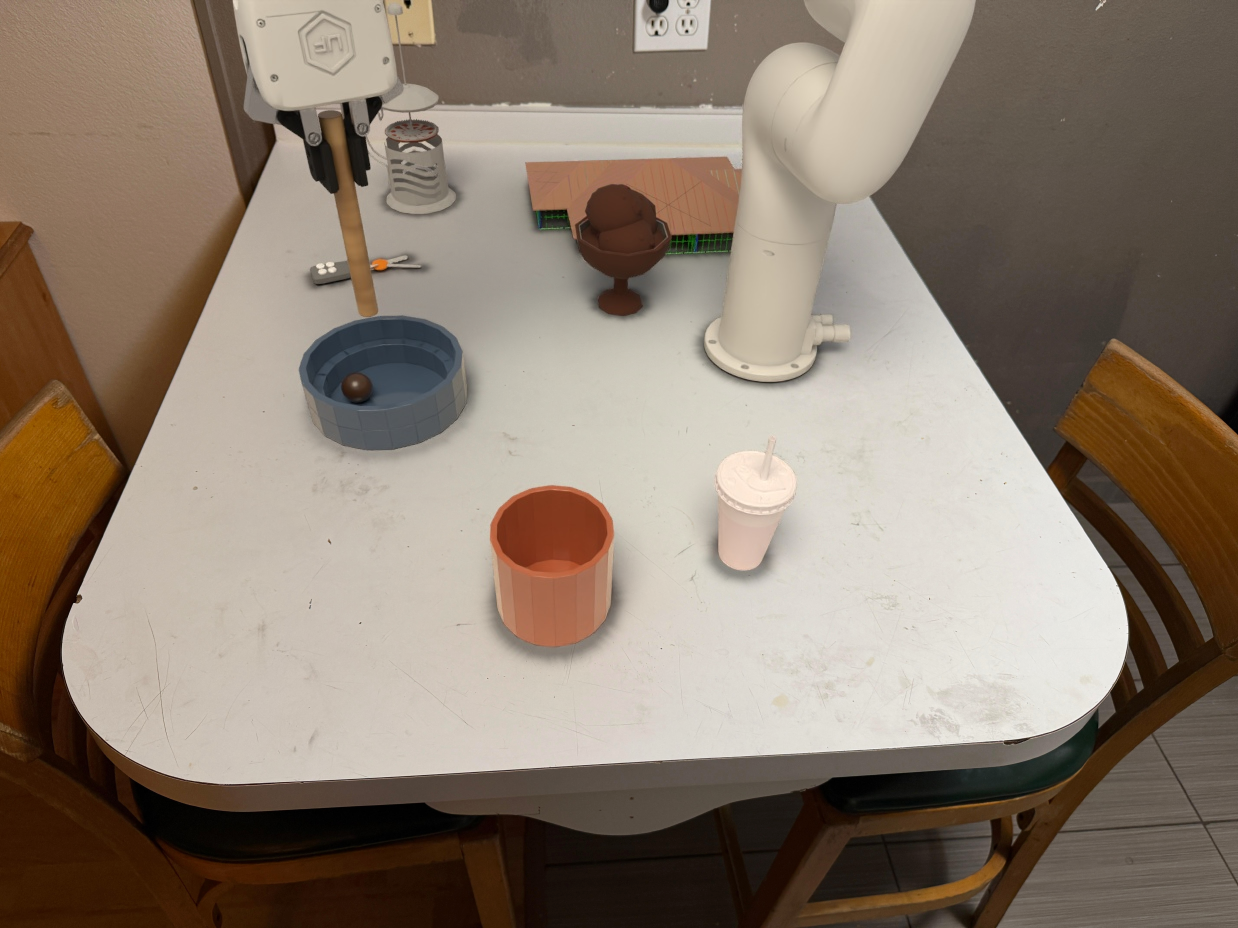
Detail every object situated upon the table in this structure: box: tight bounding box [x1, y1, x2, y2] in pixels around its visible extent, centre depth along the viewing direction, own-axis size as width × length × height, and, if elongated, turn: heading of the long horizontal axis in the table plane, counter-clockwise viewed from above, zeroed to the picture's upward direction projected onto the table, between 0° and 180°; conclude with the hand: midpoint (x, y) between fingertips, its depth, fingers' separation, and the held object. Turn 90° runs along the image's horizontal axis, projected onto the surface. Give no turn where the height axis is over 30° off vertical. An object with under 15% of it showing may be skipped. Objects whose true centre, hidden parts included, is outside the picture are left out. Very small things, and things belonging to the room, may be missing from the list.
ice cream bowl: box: [575, 184, 673, 317], centre depth 93 cm, size 11×11×15 cm
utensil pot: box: [489, 484, 615, 648], centre depth 63 cm, size 9×9×9 cm
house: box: [524, 156, 742, 255], centre depth 112 cm, size 23×33×8 cm
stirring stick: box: [317, 109, 379, 318], centre depth 69 cm, size 2×2×18 cm
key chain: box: [309, 254, 422, 285], centre depth 101 cm, size 13×4×2 cm, turn 114°
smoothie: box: [713, 435, 798, 571], centre depth 65 cm, size 6×6×14 cm
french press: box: [366, 2, 457, 215], centre depth 107 cm, size 10×12×25 cm
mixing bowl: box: [298, 314, 468, 451], centre depth 81 cm, size 15×15×6 cm
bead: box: [341, 373, 373, 403], centre depth 81 cm, size 3×3×3 cm
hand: (343, 182), depth 67 cm, fingers closed on stirring stick, 1 cm apart
